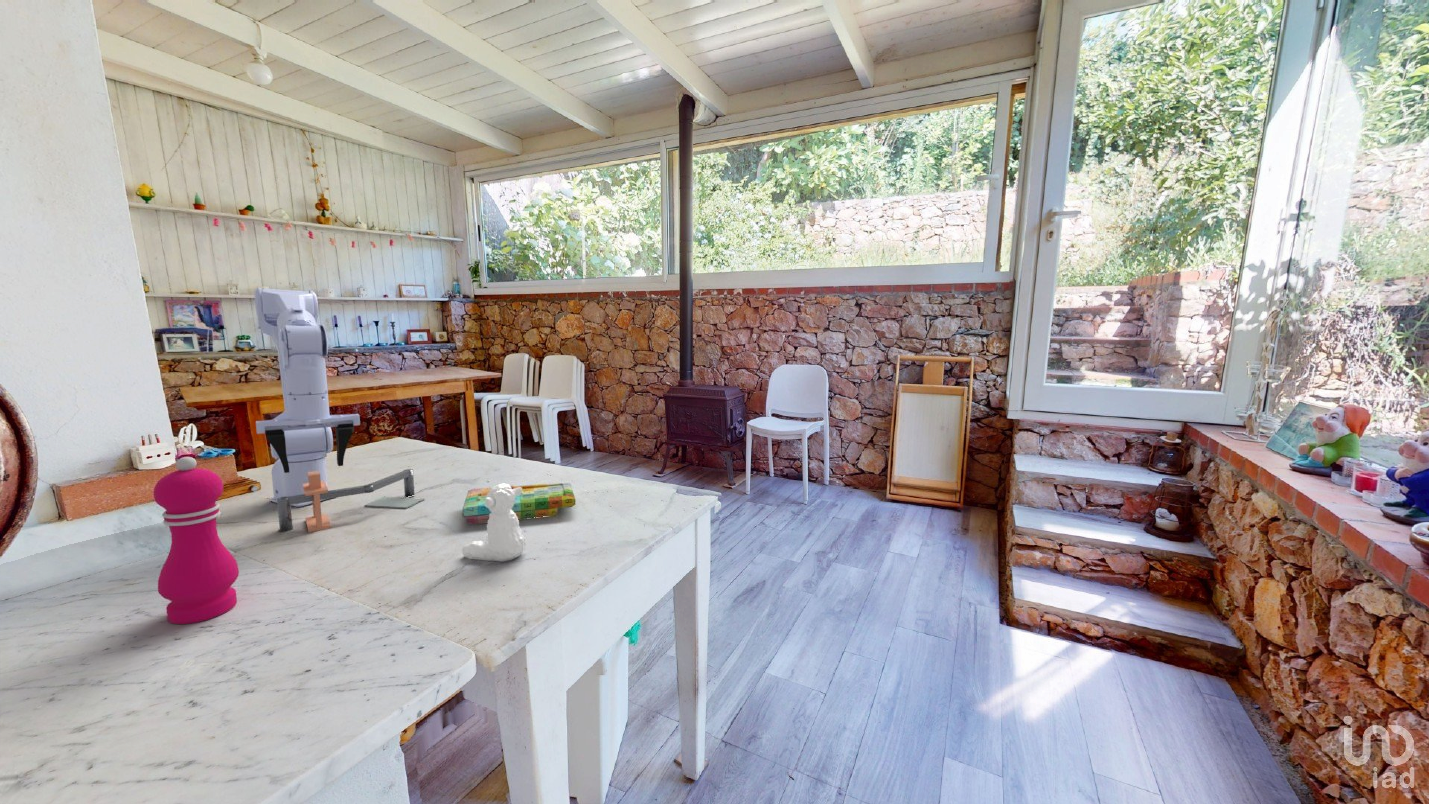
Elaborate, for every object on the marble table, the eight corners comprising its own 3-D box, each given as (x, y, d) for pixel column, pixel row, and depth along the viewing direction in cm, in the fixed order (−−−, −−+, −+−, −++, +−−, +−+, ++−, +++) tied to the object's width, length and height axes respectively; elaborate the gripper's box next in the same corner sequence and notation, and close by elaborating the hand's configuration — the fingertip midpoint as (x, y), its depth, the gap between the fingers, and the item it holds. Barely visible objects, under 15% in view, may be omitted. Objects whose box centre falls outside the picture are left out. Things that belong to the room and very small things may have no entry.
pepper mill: (171, 634, 60) (150, 467, 58) (154, 615, 64) (134, 458, 62) (251, 607, 66) (235, 455, 64) (231, 591, 70) (215, 447, 68)
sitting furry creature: (513, 538, 90) (511, 471, 89) (544, 551, 85) (542, 481, 84) (460, 557, 82) (457, 484, 81) (491, 572, 78) (488, 495, 76)
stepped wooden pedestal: (308, 532, 91) (303, 479, 90) (305, 520, 96) (301, 470, 95) (330, 527, 93) (326, 476, 92) (327, 516, 98) (323, 467, 97)
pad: (406, 508, 104) (406, 507, 104) (364, 506, 104) (364, 505, 104) (424, 499, 109) (424, 498, 109) (384, 497, 110) (384, 496, 110)
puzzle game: (468, 486, 105) (569, 478, 112) (469, 508, 105) (570, 499, 112) (462, 504, 94) (575, 494, 101) (463, 529, 95) (575, 517, 102)
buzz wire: (277, 530, 91) (274, 499, 90) (400, 492, 113) (398, 467, 113) (306, 537, 89) (303, 504, 88) (426, 497, 111) (425, 471, 110)
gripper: (253, 398, 84) (261, 479, 86) (360, 392, 93) (365, 466, 95) (253, 394, 89) (260, 471, 91) (354, 389, 99) (359, 459, 100)
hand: (314, 468), depth 93 cm, fingers open, 7 cm apart
